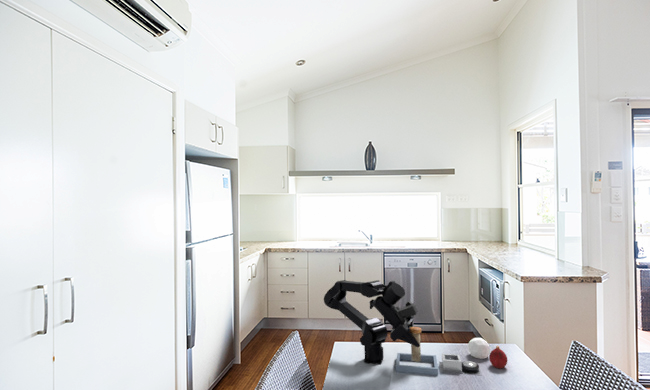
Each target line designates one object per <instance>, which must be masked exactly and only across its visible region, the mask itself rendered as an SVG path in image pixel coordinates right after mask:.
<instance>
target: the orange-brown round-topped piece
mask: <svg viewBox="0 0 650 390" xmlns="http://www.w3.org/2000/svg"><path fill="white" fill-rule="evenodd" d="M411 333H412V334H413V336H414V337H415V338H416V340H417V341H418V343H419V344H420V346H419V347H416V346H414V345H412V344H410V345H411V346H410V347H411V351H410V354H411V357H412V360H411V361H412V362H416V363H418V362H422V361H421V343H420V340H421V333H422V328H421V327H419V326H413V327H411Z"/></svg>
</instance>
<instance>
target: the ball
mask: <svg viewBox="0 0 650 390" xmlns="http://www.w3.org/2000/svg"><path fill="white" fill-rule="evenodd" d="M490 348H491V347H490V345H489V343H488V342H487V341H486V340H485V339H484V338H482V337H473V338H471V339H470V341H469V342H468V344H467V349H468V352H469V354H470V356H471V357H473V358H475V359H480V360H483V359H486V358H488V357H489V355H490V353H491V349H490Z"/></svg>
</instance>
